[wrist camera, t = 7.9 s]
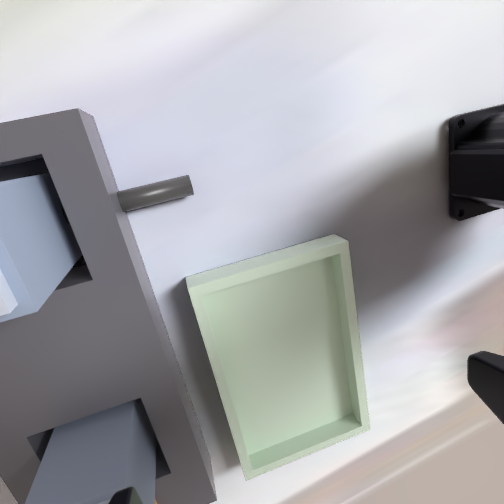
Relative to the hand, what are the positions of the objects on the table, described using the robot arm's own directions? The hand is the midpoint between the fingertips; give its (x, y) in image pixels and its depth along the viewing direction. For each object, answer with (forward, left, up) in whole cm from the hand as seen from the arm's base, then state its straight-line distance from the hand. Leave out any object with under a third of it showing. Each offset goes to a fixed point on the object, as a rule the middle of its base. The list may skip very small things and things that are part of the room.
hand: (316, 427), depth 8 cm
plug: (+9, +7, -12) cm, 16 cm away
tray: (-2, +7, -12) cm, 14 cm away
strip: (+9, +2, -12) cm, 15 cm away
